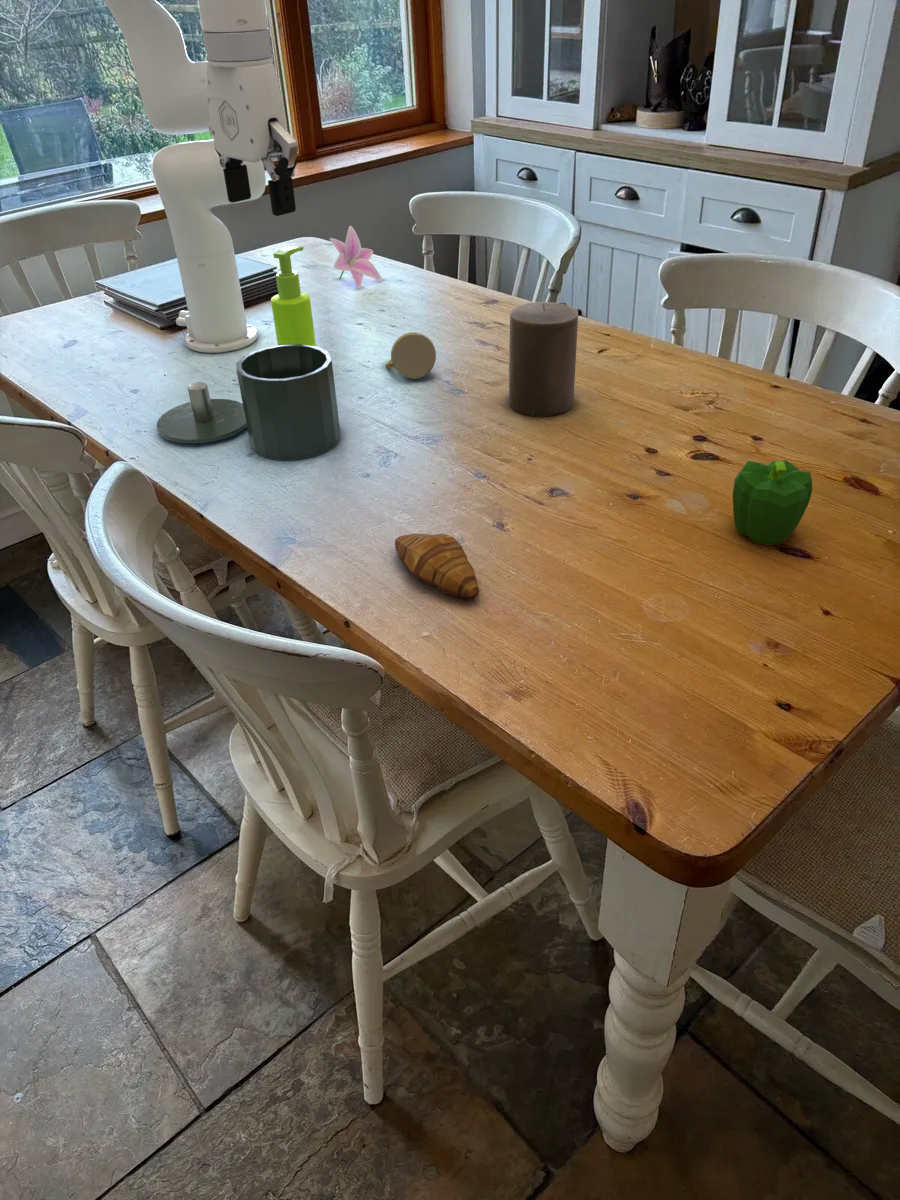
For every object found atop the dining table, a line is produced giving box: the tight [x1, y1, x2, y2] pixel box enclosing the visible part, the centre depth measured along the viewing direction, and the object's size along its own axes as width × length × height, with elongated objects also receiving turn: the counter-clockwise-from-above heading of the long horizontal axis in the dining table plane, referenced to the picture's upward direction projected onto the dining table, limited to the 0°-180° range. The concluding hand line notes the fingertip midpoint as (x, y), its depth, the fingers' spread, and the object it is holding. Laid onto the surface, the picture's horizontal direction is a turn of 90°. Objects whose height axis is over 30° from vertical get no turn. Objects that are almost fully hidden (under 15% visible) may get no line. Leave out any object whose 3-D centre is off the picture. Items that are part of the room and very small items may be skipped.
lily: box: [329, 225, 383, 289], centre depth 178 cm, size 12×12×10 cm
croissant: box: [394, 533, 480, 601], centre depth 95 cm, size 14×7×5 cm, turn 39°
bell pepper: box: [732, 459, 813, 546], centre depth 98 cm, size 8×8×10 cm
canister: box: [235, 344, 341, 462], centre depth 120 cm, size 13×13×12 cm
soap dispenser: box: [270, 245, 317, 347], centre depth 135 cm, size 6×7×20 cm
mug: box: [384, 331, 437, 380], centre depth 140 cm, size 8×10×10 cm
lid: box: [156, 381, 247, 444], centre depth 126 cm, size 14×14×6 cm
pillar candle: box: [508, 301, 579, 418], centre depth 126 cm, size 10×10×15 cm
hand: (261, 206), depth 111 cm, fingers open, 9 cm apart
